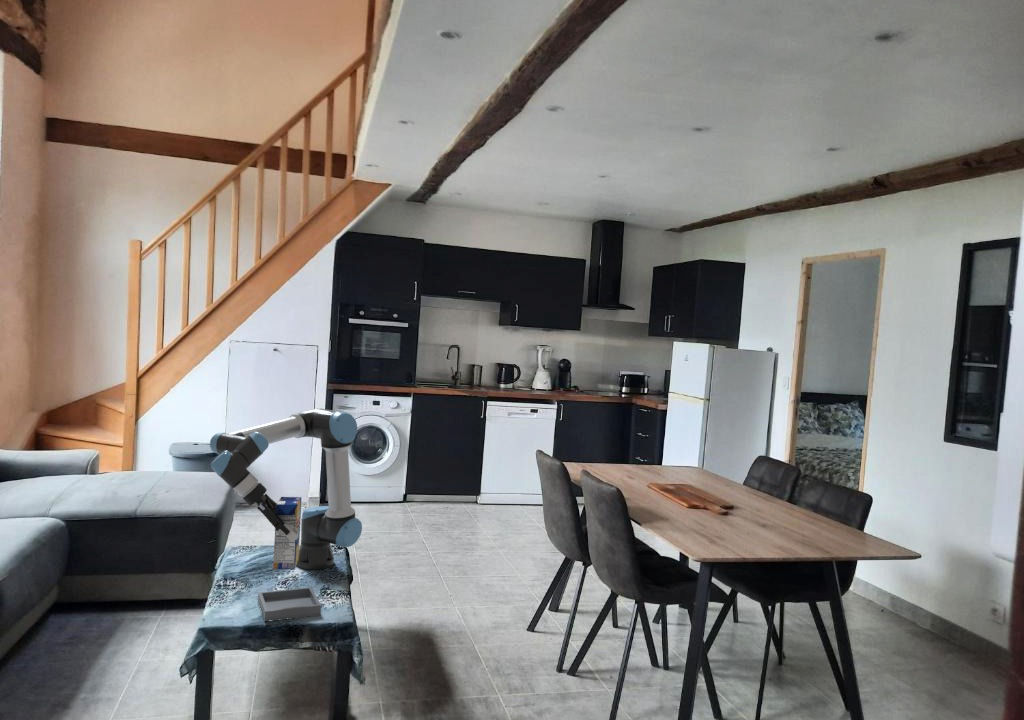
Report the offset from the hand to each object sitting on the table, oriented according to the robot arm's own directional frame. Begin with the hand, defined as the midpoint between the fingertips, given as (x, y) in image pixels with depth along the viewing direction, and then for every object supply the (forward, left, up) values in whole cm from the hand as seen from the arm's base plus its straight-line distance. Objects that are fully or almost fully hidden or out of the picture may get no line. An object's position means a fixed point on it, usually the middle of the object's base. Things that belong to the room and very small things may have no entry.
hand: (296, 534), depth 250 cm
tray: (+2, +1, -25) cm, 25 cm away
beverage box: (+3, -1, -10) cm, 11 cm away
